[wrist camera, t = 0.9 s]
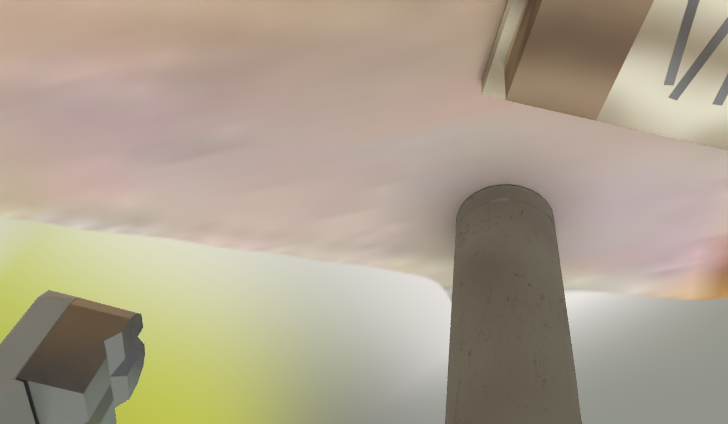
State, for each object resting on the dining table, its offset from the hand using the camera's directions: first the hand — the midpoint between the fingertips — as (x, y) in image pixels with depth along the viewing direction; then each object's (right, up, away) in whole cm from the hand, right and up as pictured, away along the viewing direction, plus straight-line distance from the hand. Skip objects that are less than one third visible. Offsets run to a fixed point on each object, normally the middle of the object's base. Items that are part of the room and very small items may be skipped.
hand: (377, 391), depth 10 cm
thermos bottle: (+12, +2, +41) cm, 43 cm away
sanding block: (+12, +16, +27) cm, 34 cm away
